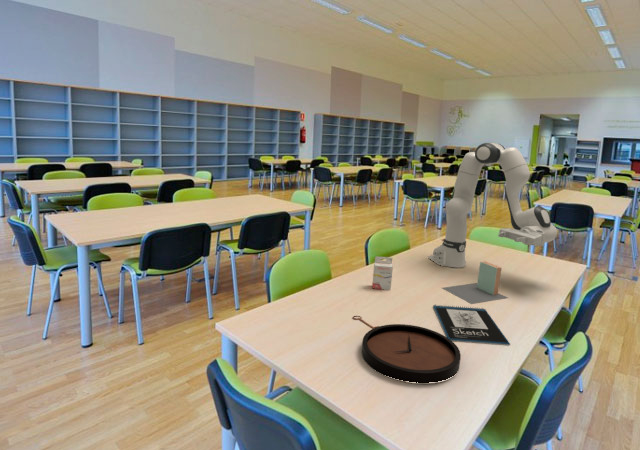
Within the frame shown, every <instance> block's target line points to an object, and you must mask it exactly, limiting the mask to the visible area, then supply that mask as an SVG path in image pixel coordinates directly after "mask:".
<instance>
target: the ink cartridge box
mask: <svg viewBox="0 0 640 450" xmlns="http://www.w3.org/2000/svg"><path fill="white" fill-rule="evenodd" d="M393 269H394V268H393V257H390V256H389V257H388V256H377V255H376V256H375V257H374V262H373V273H372V275H373V276H372V285H371V286H372V289H373V288H374V289H373V290H382V289H384V290H383V291H391V288H392V281H393V280H392V279H393Z"/></svg>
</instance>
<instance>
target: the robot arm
mask: <svg viewBox="0 0 640 450" xmlns="http://www.w3.org/2000/svg"><path fill="white" fill-rule="evenodd" d="M495 164H499V166H500V167H501V169H502V171H503V174H504V177H505V186H504V193H505V199H506V203H507V206H508V210H509V214H510V223H511V226H512V228H508V227H507V228H499V232H498V234H497V235H498V238H505V239H508V240H511V241H512V240H513V241H514V242H516V243H522V244H523V245H524V246H525V245H530V246H535V247H537V246H538V247H544V245H545V244H546V243H550V242H552V241H554V240H555V239H556V238H557V235H558V229H557V228H556V226H555V225H553V223H552V222H551V216H550V212H549V211H548V210H547V209H546V208H544V207H543V206H540V205H536V206H534V207H531V208H529V209H528V208H527V209H526V210H524V211H523V209H522V206H521V203H520V199H519V195H520V194H519V193H520V191H521V190H522V188H524V186H525V185H527V183H528V181H529V180H530V177H531V172H530V168H529V166H528V164H527V162H526V158H524V156H523V153H521V151H520V150H519V149H518V148H517V147H513V146H512V147H507V148H505V147H504V145H502V144H500V143H496V142H484V143H481V144H479V145H478V146H477V147H476V149H475V151H470V152H467V153H465V155H464V157H463V158H462V160H461V163H460V165H459V168H458V171H457V175H456V179H455V182H454V192H453V196H452V198H451V199H449V201H448V202H446V205H445V212H446V213H445V215H446V216H445V217H446V218H445V220H446V229H445V238H442V239H441V241H442V242H441V243H442V244H441V245H438V246H437V247H435V248H434V249H433V251H432V255H429V256H428V257H427V258H428V259H429V260H430V259H431V261H432V262H433V261H434V263H435V264H437V265H438V266H440V265H441V267H449V268H464V267H466V266H467V264H466V263H467V261H466V248H467V247H466V246H467V240H466V239H467V231H468V226H467V219H468V218H467V216H468V213H470V212H471V210H472V207H473V203H474V199H475V193H476V188H477V184H478V181H479V178H480V174H481V171H482V169H483V166H485V165H495Z"/></svg>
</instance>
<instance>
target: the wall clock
mask: <svg viewBox="0 0 640 450" xmlns="http://www.w3.org/2000/svg"><path fill="white" fill-rule="evenodd" d="M378 326H379V327H377V326H375V327H376V328H374V329H372V328H371V329H370V330H369V331H367V332H366V333H365V335H364V336H363V338H362V343H361V355H362V358H363V360H364V361H365V363H366V364H367V365H368V366H369V367H370V368H371V369H373V370H374V371H375V370H376V371H375V372H377V373H378V372H379V374H380V373H381V374H380V375H382V374H383V375H382V376H384V375H386V376H389V377H392V378H395V379H399V380H403V381H409V382H416V383H417V382H418V383H429V382H438V381H442V380H446V379H448V378H450V377H452V376H454V375H455V374H456V373H457V374H458V372H459V371H460V370H459V369H460V364H461V357H462V355H461V351H460V349H459V347H458V346H457V344H456V343H455V342H454V341H451V340H450V339H448V338H447V337H446V335H445V334H444V335H443V334H441V333H440V332H437V331H435V330H432V329H430V328H426V327H422V326H417V325H413V324H403V323H399V324H398V323H397V324H396V323H394V324H385V325H378ZM457 371H458V372H457ZM457 374H456V375H457ZM456 375H455V376H456ZM386 376H385V377H386ZM455 376H454V377H455ZM389 377H388V378H389ZM452 378H453V377H452Z"/></svg>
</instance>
